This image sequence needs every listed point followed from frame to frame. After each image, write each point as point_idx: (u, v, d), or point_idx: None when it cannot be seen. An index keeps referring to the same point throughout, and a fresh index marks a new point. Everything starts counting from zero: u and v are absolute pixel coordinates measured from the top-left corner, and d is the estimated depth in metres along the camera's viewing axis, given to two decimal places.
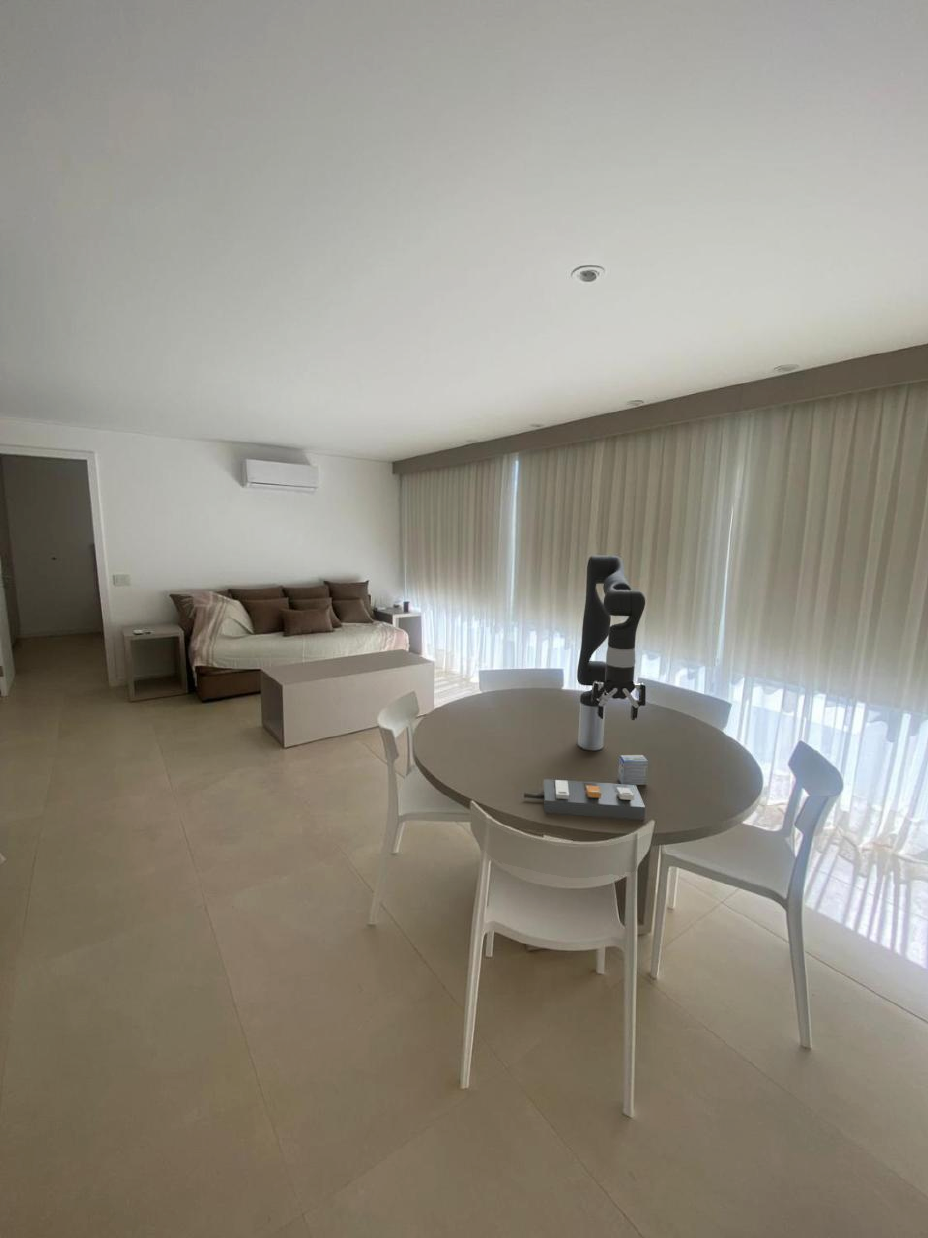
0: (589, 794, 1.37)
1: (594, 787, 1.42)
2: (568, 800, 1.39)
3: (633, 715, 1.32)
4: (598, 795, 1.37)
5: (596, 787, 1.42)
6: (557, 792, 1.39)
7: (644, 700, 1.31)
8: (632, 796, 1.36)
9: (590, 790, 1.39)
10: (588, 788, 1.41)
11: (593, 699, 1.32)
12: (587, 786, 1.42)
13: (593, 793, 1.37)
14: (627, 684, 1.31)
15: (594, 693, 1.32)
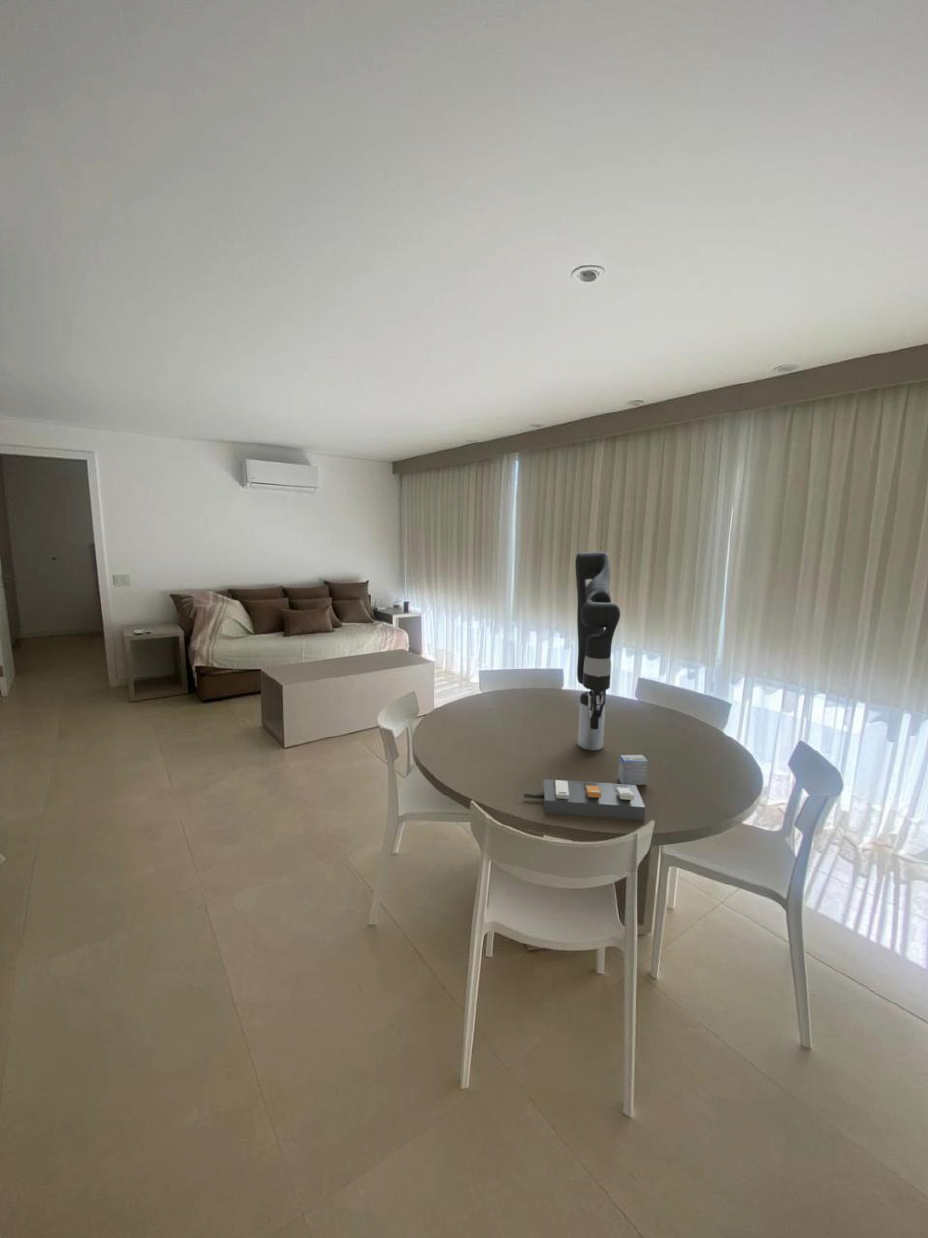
0: (589, 794, 1.37)
1: (594, 787, 1.42)
2: (568, 800, 1.39)
3: (597, 723, 1.40)
4: (598, 795, 1.37)
5: (596, 787, 1.42)
6: (557, 792, 1.39)
7: None
8: (632, 796, 1.36)
9: (590, 790, 1.39)
10: (588, 788, 1.41)
11: (600, 713, 1.36)
12: (587, 786, 1.42)
13: (593, 793, 1.37)
14: None
15: (601, 711, 1.35)
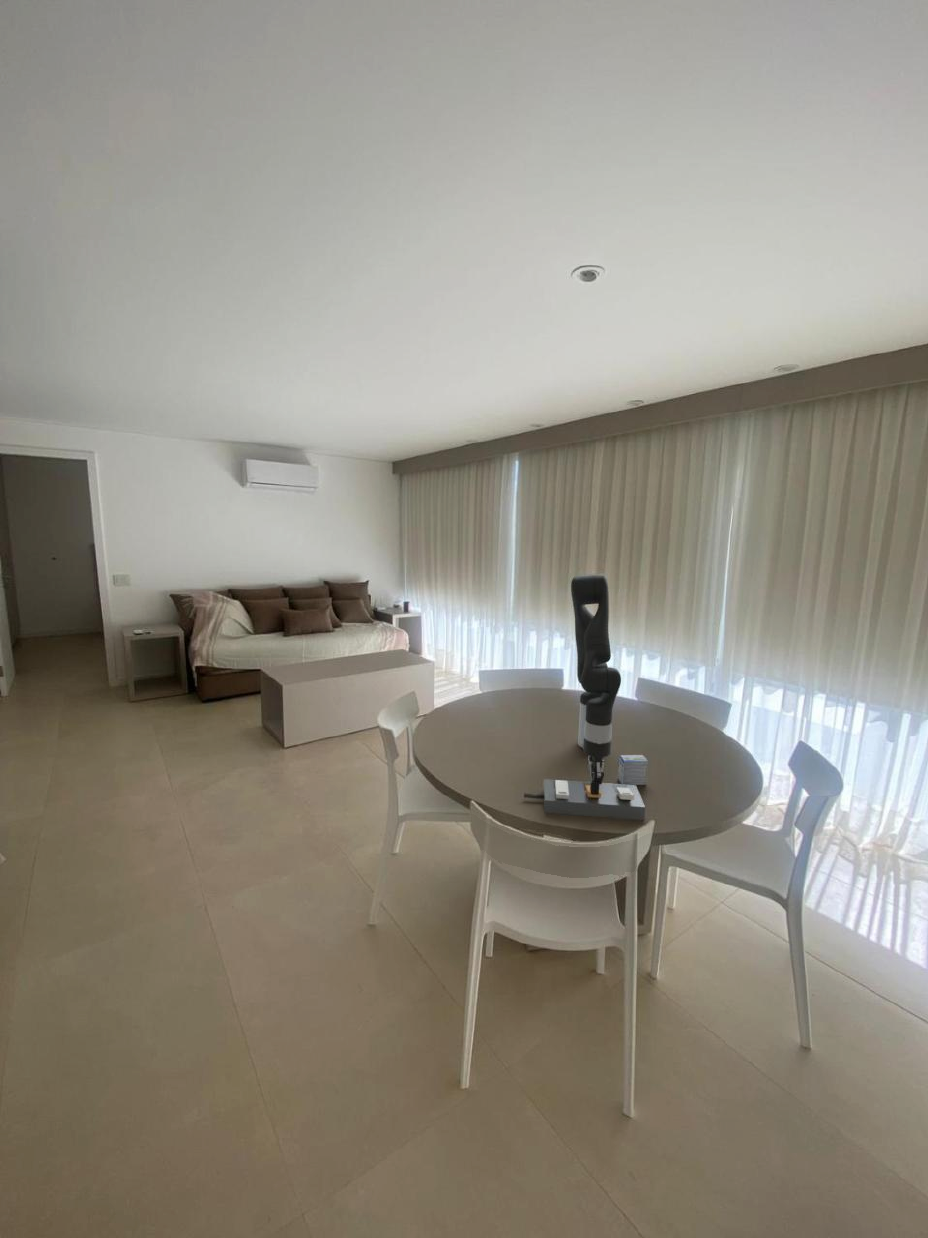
0: (589, 794, 1.37)
1: None
2: (568, 800, 1.39)
3: None
4: (598, 795, 1.37)
5: None
6: (557, 792, 1.39)
7: None
8: (632, 796, 1.36)
9: None
10: (588, 788, 1.41)
11: None
12: (587, 786, 1.42)
13: None
14: None
15: None
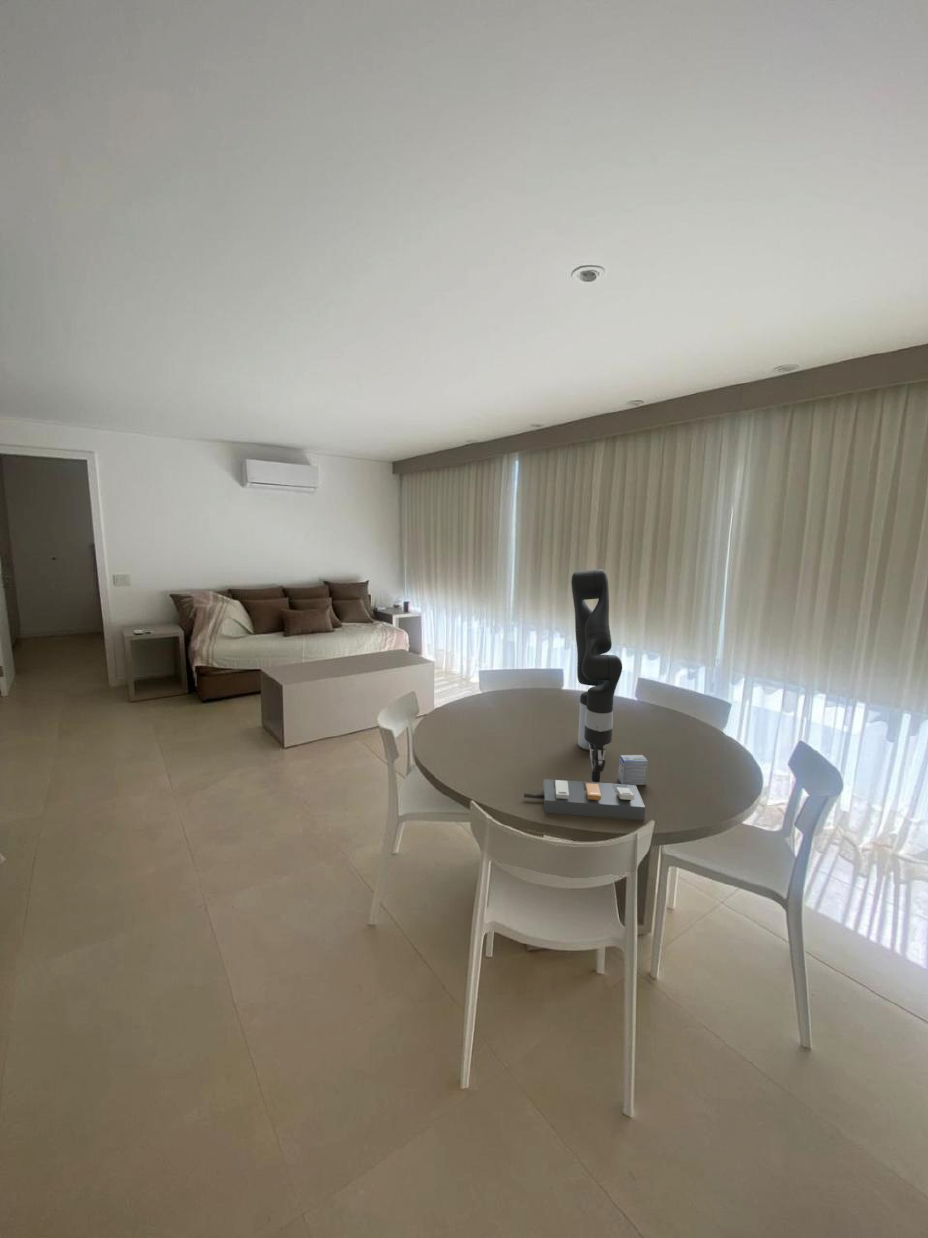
0: (589, 797, 1.38)
1: (594, 786, 1.41)
2: (568, 800, 1.39)
3: (599, 775, 1.37)
4: (598, 798, 1.37)
5: (596, 786, 1.41)
6: (557, 792, 1.39)
7: None
8: (632, 796, 1.36)
9: (590, 792, 1.39)
10: (588, 788, 1.40)
11: None
12: (587, 785, 1.42)
13: (593, 796, 1.37)
14: None
15: (603, 766, 1.31)
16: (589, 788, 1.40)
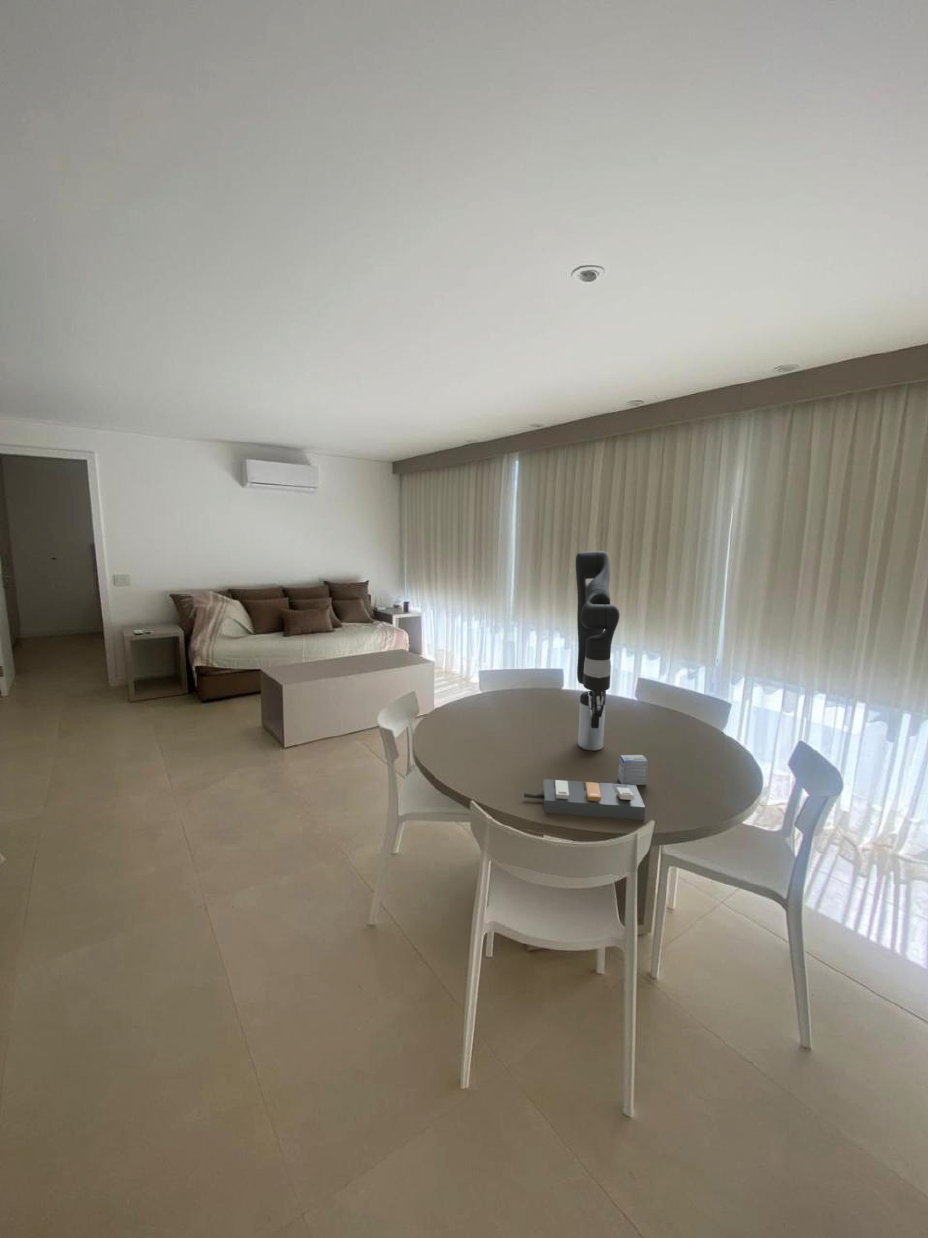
0: (589, 798, 1.38)
1: (594, 786, 1.41)
2: (568, 800, 1.39)
3: None
4: (598, 799, 1.37)
5: (596, 786, 1.41)
6: (557, 792, 1.39)
7: None
8: (632, 796, 1.36)
9: (590, 793, 1.39)
10: (588, 788, 1.40)
11: None
12: (587, 784, 1.42)
13: (593, 797, 1.37)
14: None
15: (601, 712, 1.37)
16: (589, 788, 1.40)
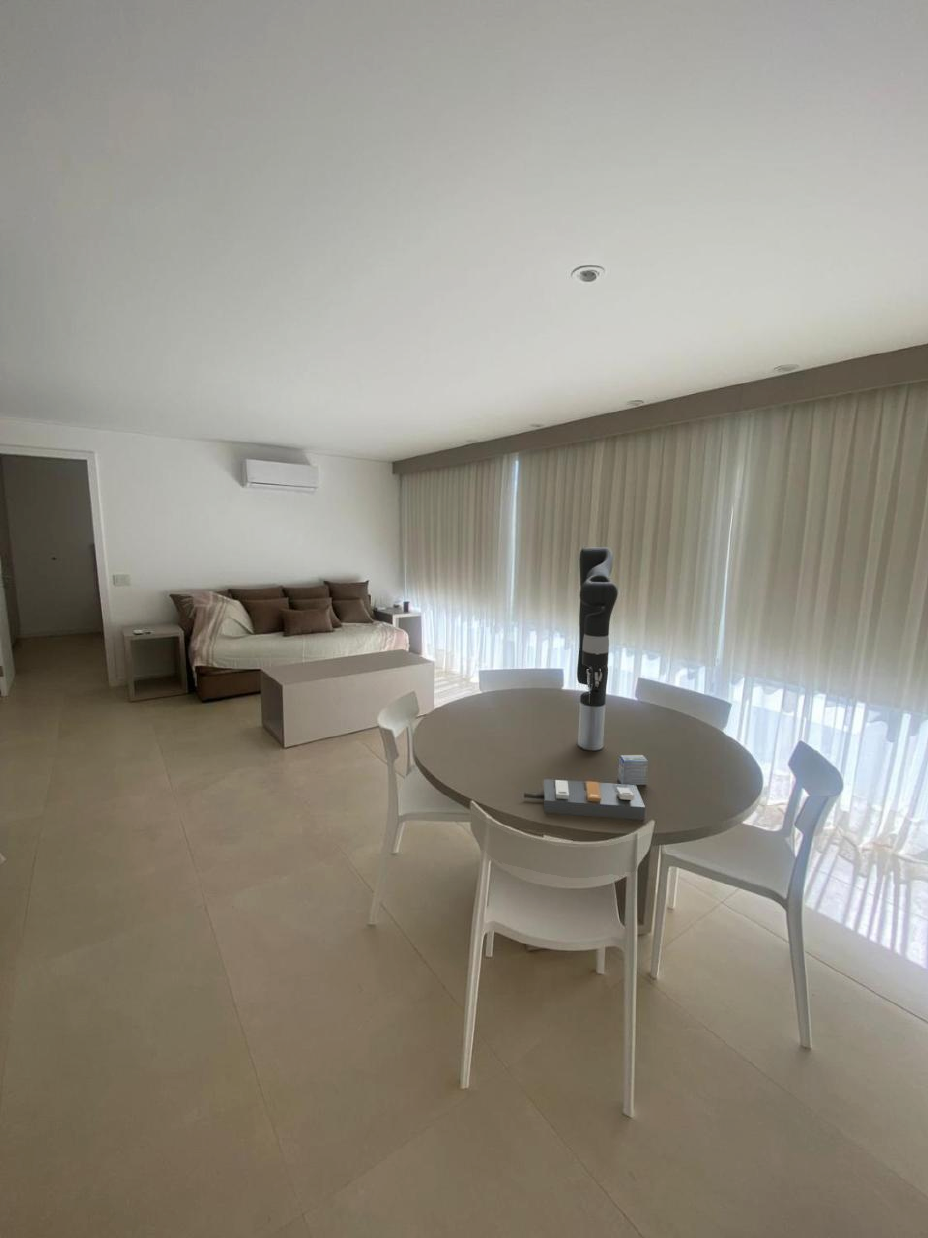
0: (589, 799, 1.38)
1: (594, 785, 1.41)
2: (568, 800, 1.39)
3: None
4: (598, 800, 1.38)
5: (596, 785, 1.41)
6: (557, 792, 1.39)
7: None
8: (632, 796, 1.36)
9: (590, 793, 1.39)
10: (588, 788, 1.40)
11: None
12: (587, 784, 1.42)
13: (593, 798, 1.37)
14: None
15: (600, 688, 1.40)
16: (589, 788, 1.40)
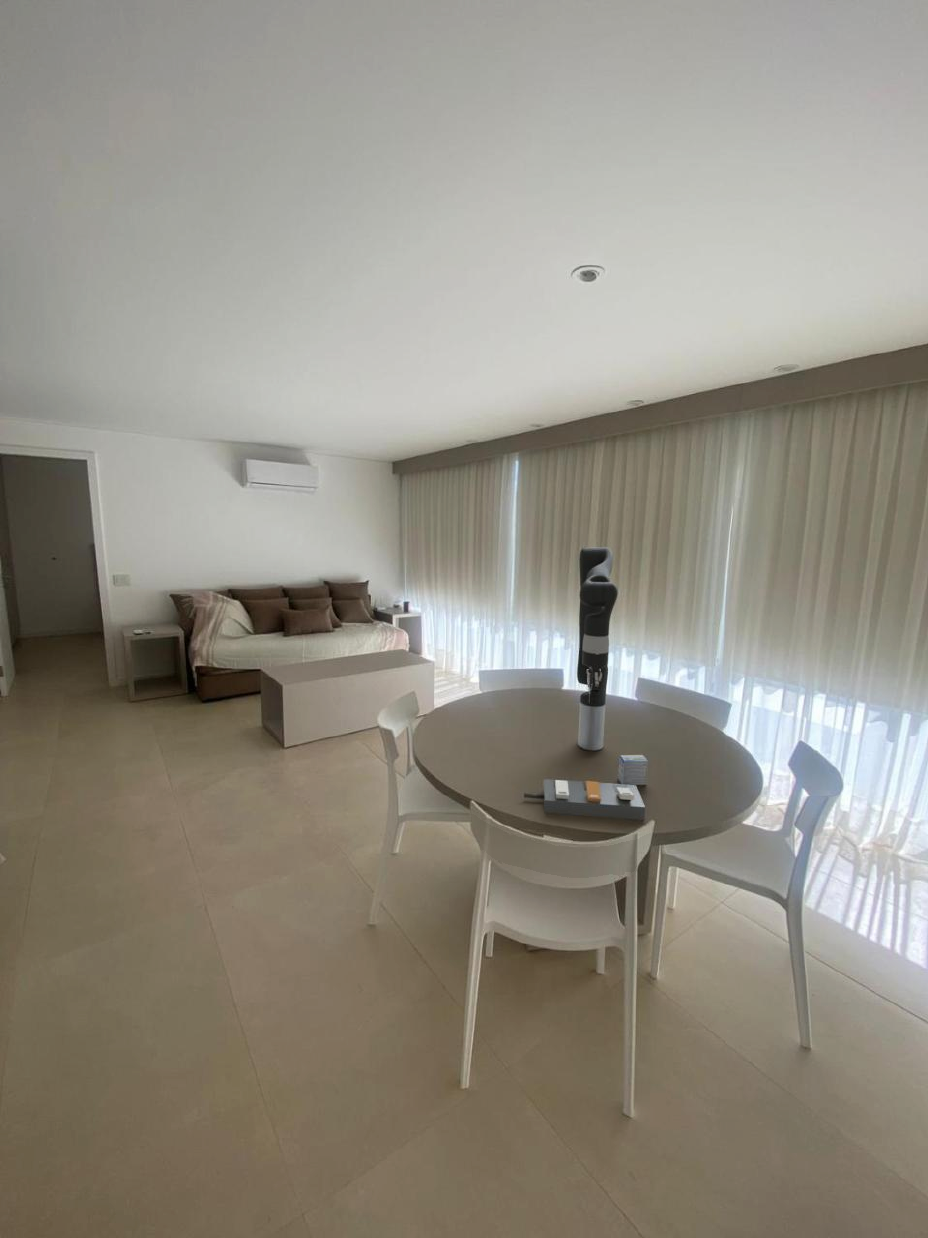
0: (589, 799, 1.38)
1: (594, 785, 1.41)
2: (568, 800, 1.39)
3: None
4: (598, 800, 1.38)
5: (596, 785, 1.41)
6: (557, 792, 1.39)
7: None
8: (632, 796, 1.36)
9: (590, 794, 1.39)
10: (588, 789, 1.40)
11: None
12: (587, 783, 1.42)
13: (593, 799, 1.38)
14: None
15: (600, 688, 1.40)
16: (589, 788, 1.40)
